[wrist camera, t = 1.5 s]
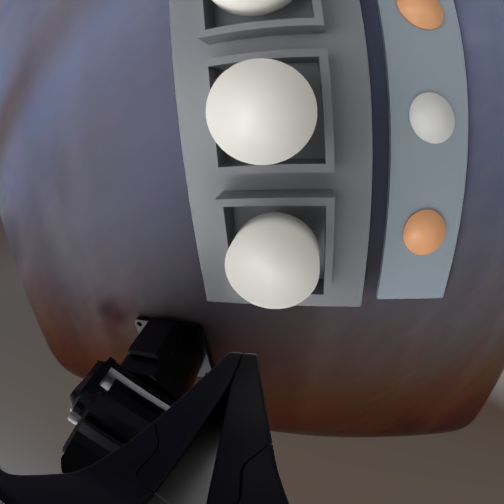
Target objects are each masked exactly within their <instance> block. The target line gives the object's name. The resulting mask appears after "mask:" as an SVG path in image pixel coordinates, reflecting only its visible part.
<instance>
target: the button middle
mask: <svg viewBox="0 0 504 504" xmlns="http://www.w3.org/2000/svg"><path fill="white" fill-rule="evenodd" d="M206 120H207V125H208V128H209V131H210V133H211V135H212V137H213V139H214V140H215V142H216V143H217V144H218V145H219V147H220V148H221V149H222V150H223V151H224V152H226V153H227V154H228V155H230V156H231V157H233V158H235V159H237V160H239V161H242V162H245V163H248V164H254V165H271V164H276V163H279V162H282V161H285V160H287V159H289V158H291V157H292V156H294V155H295V154H297V153H298V152H299V151H300V150H301V149H302V148H303V147H304V146H305V145H306V144H307V143H308V141H309V139H310V138H311V136H312V134H313V132H314V129H315V126H316V122H317V102H316V98H315V95H314V92H313V90H312V88H311V86H310V85H309V83H308V81H307V80H306V79H305V78H304V77H303V76H302V75H301V74H300V73H299V72H298V71H297V70H296V69H294V68H293V67H291V66H289V65H287V64H285V63H283V62H280V61H277V60H273V59H266V58H255V59H249V60H245V61H242V62H239V63H237V64H235V65H233V66H231V67H230V68H228V69H227V70H226V71H224V72H223V73H222V74H221V75H220V76H219V77H218V78H217V80H216V81H215V83H214V84H213V86H212V88H211V89H210V92H209V95H208V98H207V102H206Z"/></svg>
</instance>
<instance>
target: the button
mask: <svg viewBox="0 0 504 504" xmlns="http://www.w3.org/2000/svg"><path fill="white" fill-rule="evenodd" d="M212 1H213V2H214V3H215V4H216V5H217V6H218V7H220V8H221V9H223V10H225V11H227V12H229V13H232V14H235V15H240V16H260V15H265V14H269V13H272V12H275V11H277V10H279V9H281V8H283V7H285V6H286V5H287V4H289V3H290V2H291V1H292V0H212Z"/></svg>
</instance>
